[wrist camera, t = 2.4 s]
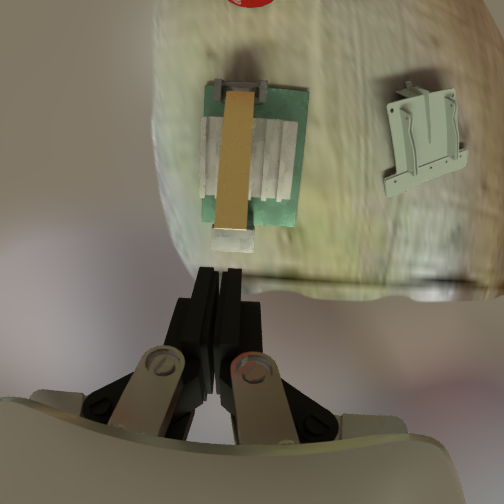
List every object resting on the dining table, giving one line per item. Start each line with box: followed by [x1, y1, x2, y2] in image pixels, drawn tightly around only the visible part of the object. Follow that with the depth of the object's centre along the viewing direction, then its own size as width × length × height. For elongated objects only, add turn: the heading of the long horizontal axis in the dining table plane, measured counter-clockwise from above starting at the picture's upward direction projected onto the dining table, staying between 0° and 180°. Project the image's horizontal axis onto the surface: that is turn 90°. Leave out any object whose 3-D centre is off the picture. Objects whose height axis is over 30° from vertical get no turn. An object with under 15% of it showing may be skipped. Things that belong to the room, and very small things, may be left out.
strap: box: [214, 86, 258, 230], centre depth 21 cm, size 13×3×1 cm, turn 177°
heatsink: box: [200, 79, 309, 253], centre depth 26 cm, size 16×11×7 cm
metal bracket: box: [384, 81, 467, 198], centre depth 26 cm, size 14×6×15 cm
